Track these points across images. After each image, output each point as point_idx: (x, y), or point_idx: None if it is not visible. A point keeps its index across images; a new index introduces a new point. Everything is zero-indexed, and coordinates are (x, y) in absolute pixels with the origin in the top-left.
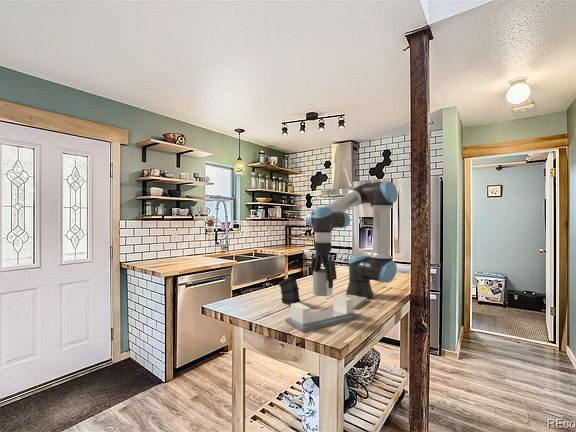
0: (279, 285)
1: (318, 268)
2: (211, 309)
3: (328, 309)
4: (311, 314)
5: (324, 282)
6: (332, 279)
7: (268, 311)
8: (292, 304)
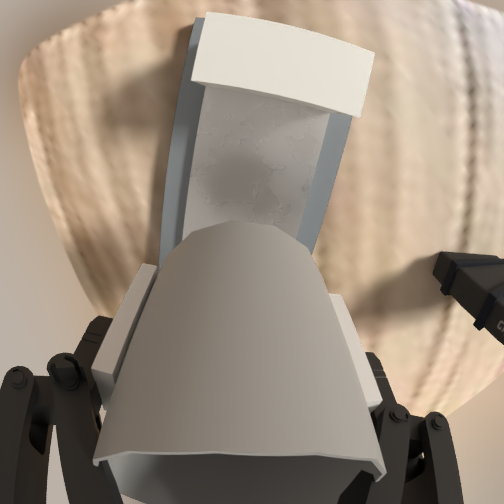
0: None
1: None
2: None
3: None
4: (293, 185)
5: (132, 342)
6: (14, 371)
7: (492, 134)
8: (356, 48)
